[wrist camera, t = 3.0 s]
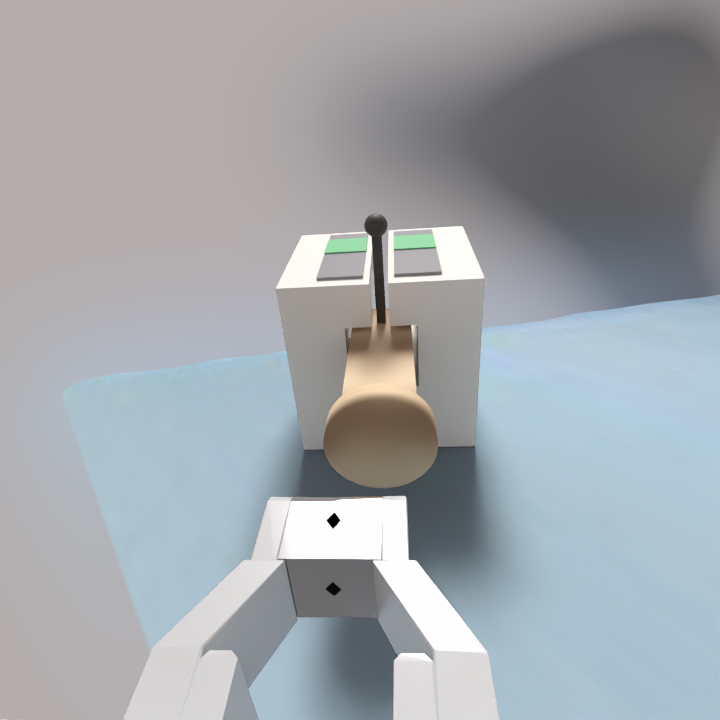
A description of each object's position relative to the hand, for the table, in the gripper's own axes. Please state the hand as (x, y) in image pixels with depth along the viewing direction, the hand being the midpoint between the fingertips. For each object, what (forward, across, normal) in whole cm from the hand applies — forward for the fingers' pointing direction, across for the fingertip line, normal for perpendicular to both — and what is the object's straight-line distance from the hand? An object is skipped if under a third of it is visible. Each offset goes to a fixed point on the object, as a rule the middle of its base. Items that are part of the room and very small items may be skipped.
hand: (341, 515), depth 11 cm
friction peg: (+19, 0, +12) cm, 22 cm away
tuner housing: (+27, 0, +17) cm, 32 cm away
